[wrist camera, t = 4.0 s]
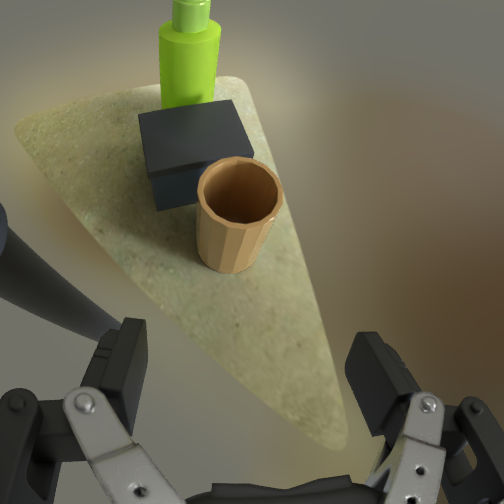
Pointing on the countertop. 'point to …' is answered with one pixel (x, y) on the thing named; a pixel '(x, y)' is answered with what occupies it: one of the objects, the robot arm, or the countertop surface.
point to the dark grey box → (189, 147)
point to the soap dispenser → (188, 54)
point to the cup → (235, 212)
